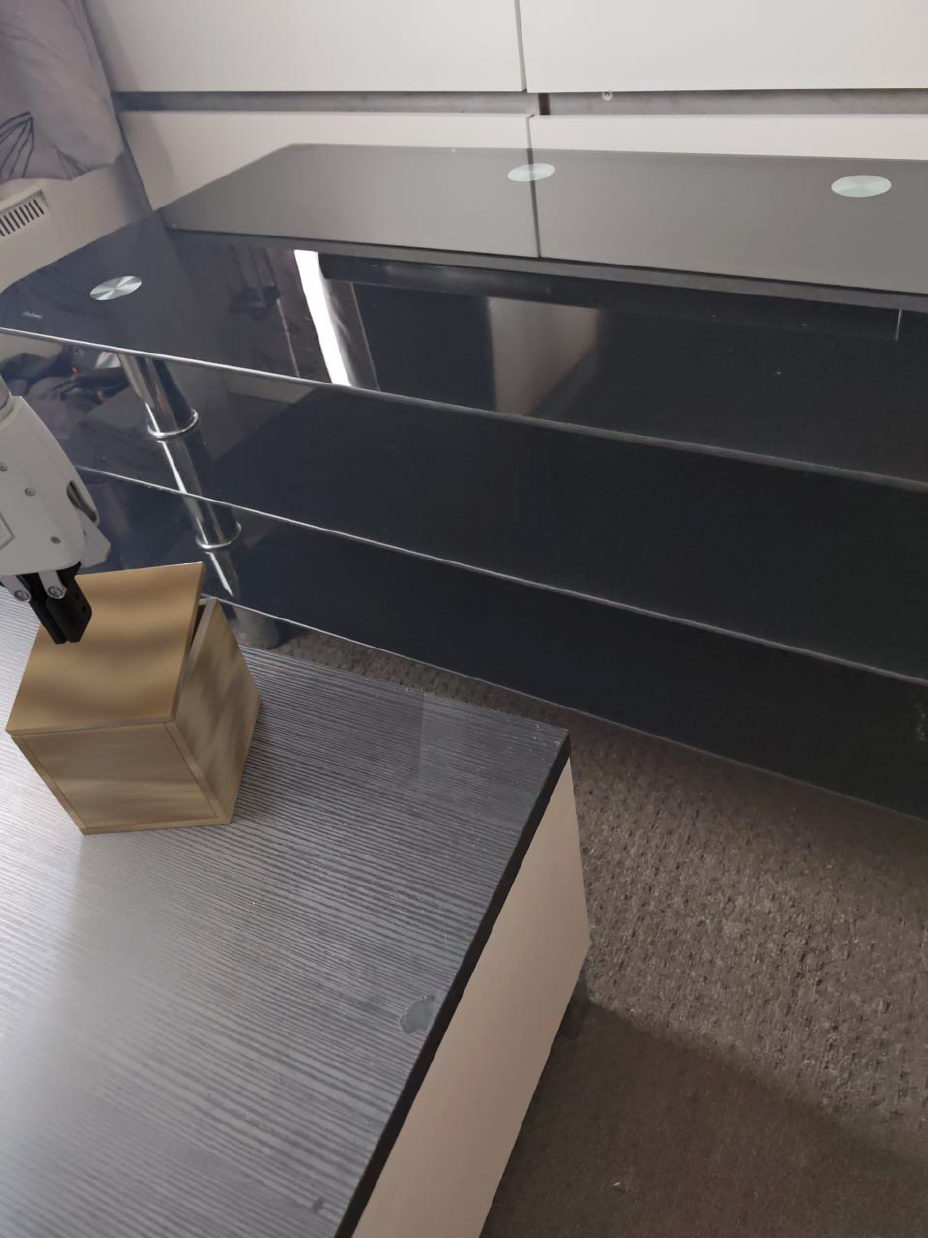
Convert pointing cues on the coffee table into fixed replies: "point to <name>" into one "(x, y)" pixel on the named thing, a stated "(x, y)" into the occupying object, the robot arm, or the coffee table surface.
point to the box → (161, 748)
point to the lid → (114, 654)
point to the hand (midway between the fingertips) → (75, 629)
